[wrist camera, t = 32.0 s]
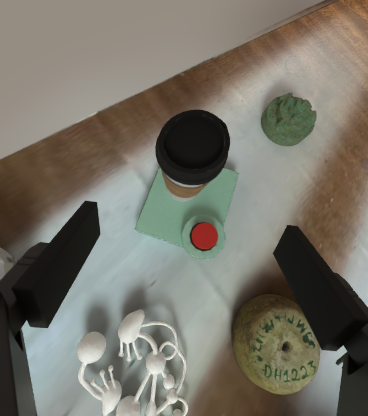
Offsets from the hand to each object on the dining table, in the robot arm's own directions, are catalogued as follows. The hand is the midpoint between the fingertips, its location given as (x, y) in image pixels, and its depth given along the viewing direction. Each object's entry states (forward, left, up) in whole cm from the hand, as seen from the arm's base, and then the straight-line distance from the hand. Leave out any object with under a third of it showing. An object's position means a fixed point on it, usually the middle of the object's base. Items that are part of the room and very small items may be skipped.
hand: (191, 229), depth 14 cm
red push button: (-2, +4, -18) cm, 19 cm away
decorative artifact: (-31, +14, -22) cm, 41 cm away
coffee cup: (-10, -2, -20) cm, 22 cm away
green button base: (-8, 0, -22) cm, 23 cm away
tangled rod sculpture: (+20, +1, -22) cm, 30 cm away
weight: (+9, +20, -22) cm, 31 cm away
